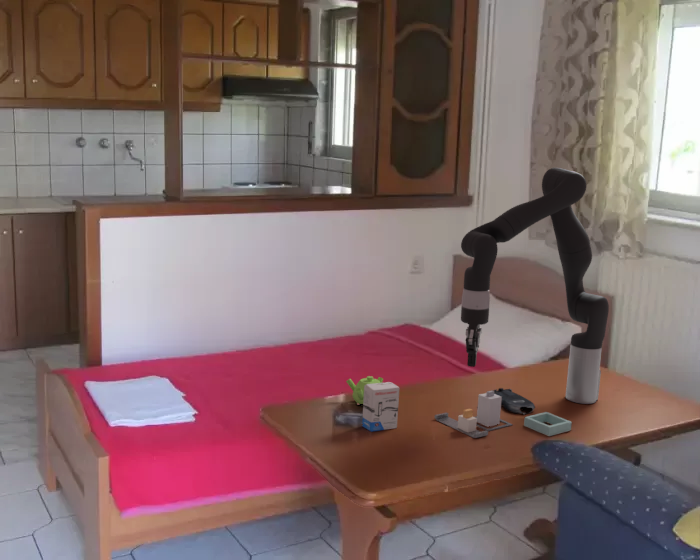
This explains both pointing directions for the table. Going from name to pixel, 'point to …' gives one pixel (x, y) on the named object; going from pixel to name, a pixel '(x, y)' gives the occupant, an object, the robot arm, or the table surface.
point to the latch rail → (454, 424)
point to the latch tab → (467, 421)
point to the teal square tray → (538, 424)
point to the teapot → (362, 387)
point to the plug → (489, 409)
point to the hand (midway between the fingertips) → (471, 365)
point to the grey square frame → (495, 427)
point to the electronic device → (513, 401)
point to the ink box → (380, 406)
